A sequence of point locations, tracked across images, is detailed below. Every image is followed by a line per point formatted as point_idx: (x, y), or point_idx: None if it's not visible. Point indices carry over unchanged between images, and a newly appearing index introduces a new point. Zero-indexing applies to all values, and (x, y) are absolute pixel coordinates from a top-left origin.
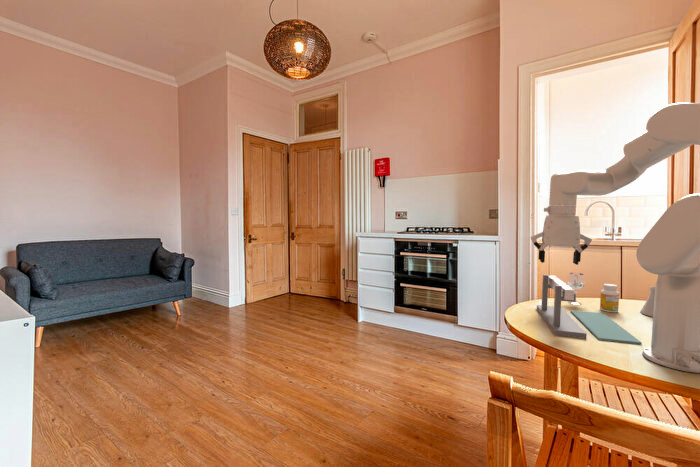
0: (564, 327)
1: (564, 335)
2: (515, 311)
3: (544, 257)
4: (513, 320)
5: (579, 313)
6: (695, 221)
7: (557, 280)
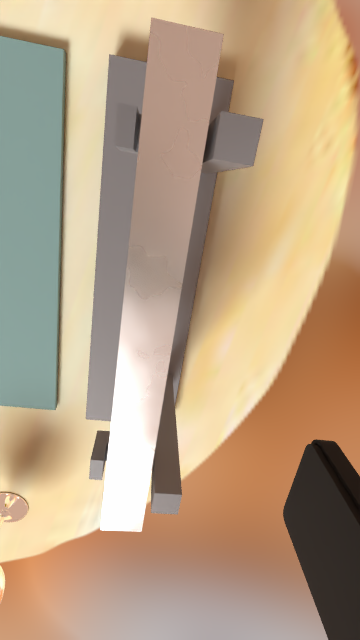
0: None
1: None
2: (261, 371)
3: (339, 488)
4: (317, 257)
5: (34, 378)
6: None
7: (139, 393)
